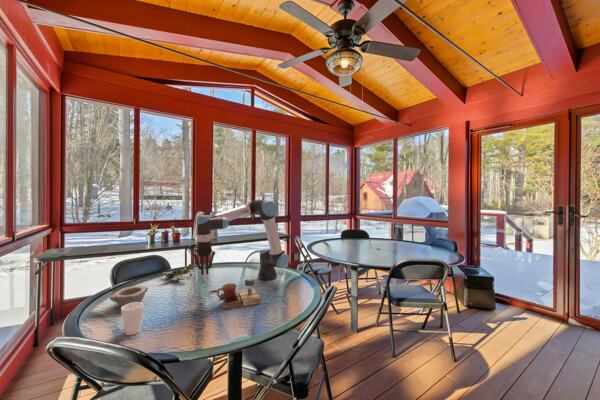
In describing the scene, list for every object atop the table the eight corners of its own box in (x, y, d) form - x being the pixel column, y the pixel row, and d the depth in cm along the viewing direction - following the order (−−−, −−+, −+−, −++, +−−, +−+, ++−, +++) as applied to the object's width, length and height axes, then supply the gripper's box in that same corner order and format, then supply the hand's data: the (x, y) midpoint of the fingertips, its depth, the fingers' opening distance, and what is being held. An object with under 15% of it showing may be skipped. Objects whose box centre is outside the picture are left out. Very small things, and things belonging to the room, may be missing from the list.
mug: (234, 298, 174) (234, 282, 174) (238, 303, 167) (238, 286, 166) (215, 302, 169) (215, 286, 168) (218, 307, 161) (218, 290, 161)
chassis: (220, 298, 175) (220, 288, 174) (254, 292, 183) (254, 283, 183) (223, 309, 158) (223, 298, 158) (260, 302, 166) (260, 292, 166)
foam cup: (134, 325, 140) (133, 301, 139) (148, 328, 137) (147, 303, 137) (117, 335, 131) (116, 308, 130) (131, 338, 128) (131, 311, 128)
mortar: (107, 312, 156) (106, 296, 156) (124, 300, 173) (124, 286, 173) (136, 311, 157) (136, 295, 157) (151, 299, 174) (150, 285, 174)
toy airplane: (205, 278, 217) (205, 265, 216) (177, 287, 196) (176, 274, 195) (183, 272, 233) (182, 260, 233) (154, 280, 212) (153, 267, 212)
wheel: (244, 283, 174) (244, 278, 174) (253, 282, 177) (253, 277, 176) (245, 286, 169) (245, 281, 169) (255, 285, 171) (255, 280, 171)
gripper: (192, 243, 156) (193, 283, 156) (215, 241, 160) (216, 280, 161) (192, 240, 163) (193, 279, 163) (214, 239, 167) (215, 276, 168)
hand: (205, 279), depth 162 cm, fingers closed
